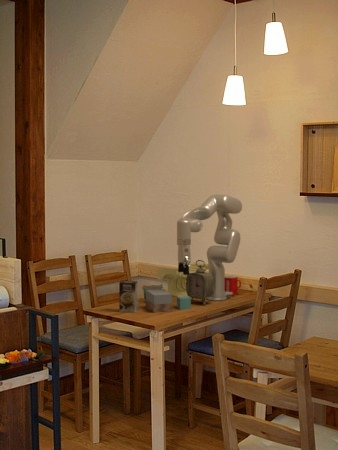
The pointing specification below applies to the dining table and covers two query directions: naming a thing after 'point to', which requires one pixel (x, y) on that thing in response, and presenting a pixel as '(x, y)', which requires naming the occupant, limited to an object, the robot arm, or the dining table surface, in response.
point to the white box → (159, 296)
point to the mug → (232, 284)
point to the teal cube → (184, 302)
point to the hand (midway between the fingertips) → (183, 273)
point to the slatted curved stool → (177, 279)
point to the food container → (150, 289)
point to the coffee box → (128, 296)
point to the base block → (159, 307)
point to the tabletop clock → (200, 284)
